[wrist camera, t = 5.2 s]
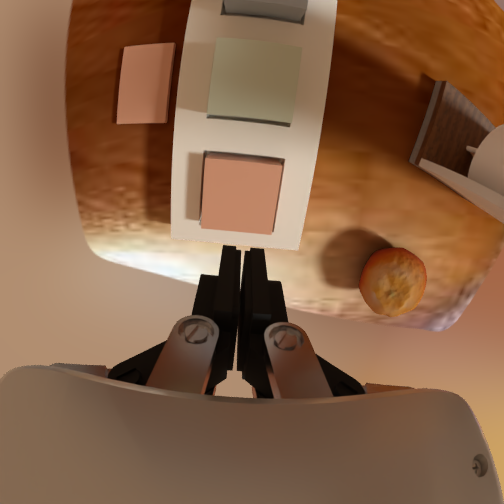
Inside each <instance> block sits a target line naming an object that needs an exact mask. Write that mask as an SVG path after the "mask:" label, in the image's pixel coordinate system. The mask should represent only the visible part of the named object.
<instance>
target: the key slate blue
mask: <svg viewBox="0 0 504 504" xmlns="http://www.w3.org/2000/svg"><path fill="white" fill-rule="evenodd" d="M224 5H225V10H226V13H239V14H251V15H261V16H269V17H276V18H282V19H288V20H294V21H300V19H301V18H302V16H303V15H304V13H305V12H306V10H307V5H308V0H224Z"/></svg>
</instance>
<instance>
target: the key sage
mask: <svg viewBox="0 0 504 504" xmlns="http://www.w3.org/2000/svg"><path fill="white" fill-rule="evenodd" d="M301 54H302V47H297V46H292V45H286V44H280V43H273V42H266V41H258V40H248V39H236V38H219V37H217V39H216V46H215V52H214V59H213V67H212V74H211V82H210V90H209V99H208V108H207V114H212V115H227V116H238V117H248V118H257V119H265V120H273V121H280V122H286V123H292V120H293V113H294V106H295V99H296V92H297V84H298V77H299V70H300V62H301Z"/></svg>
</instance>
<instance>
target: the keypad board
mask: <svg viewBox="0 0 504 504" xmlns="http://www.w3.org/2000/svg"><path fill="white" fill-rule="evenodd" d="M336 9H337V0H308V5H307V10H306V12H305V13H304V15H303V16H302V18H301V19H300V21H294V20H288V19H282V18H276V17H269V16H261V15H251V14H239V13H226V10H225V5H224V0H192V1H191V6H190V11H189V16H188V22H187V27H186V33H185V39H184V45H183V52H182V59H181V66H180V74H179V82H178V91H177V101H176V112H175V124H174V138H173V155H172V180H171V239H179V240H190V241H201V242H212V243H223V244H234V245H245V246H256V247H266V248H277V249H287V250H298V248H299V244H300V239H301V235H302V230H303V225H304V220H305V215H306V210H307V205H308V200H309V195H310V190H311V185H312V180H313V174H314V169H315V163H316V157H317V152H318V146H319V140H320V134H321V128H322V122H323V115H324V109H325V102H326V95H327V88H328V81H329V73H330V65H331V57H332V49H333V40H334V30H335V20H336ZM217 37H219V38H236V39H248V40H258V41H266V42H273V43H280V44H286V45H292V46H297V47H302V54H301V62H300V70H299V77H298V84H297V92H296V99H295V106H294V113H293V120H292V123H286V122H280V121H273V120H265V119H257V118H248V117H238V116H227V115H212V114H207V108H208V99H209V90H210V82H211V74H212V67H213V59H214V52H215V46H216V39H217ZM210 152H211V153H224V154H235V155H245V156H255V157H263V158H271V159H278V160H279V162H280V163H281V165H282V172H281V179H280V185H279V192H278V198H277V204H276V210H275V217H274V223H273V229H272V235H266V234H256V233H245V232H235V231H224V230H213V229H201V217H202V199H203V183H204V168H205V158H206V157H207V156H208V154H209V153H210Z"/></svg>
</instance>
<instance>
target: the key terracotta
mask: <svg viewBox="0 0 504 504" xmlns="http://www.w3.org/2000/svg"><path fill="white" fill-rule="evenodd" d="M281 172H282V165H281V163H280V162H279V160H278V159H271V158H263V157H255V156H245V155H235V154H224V153H211V152H210V153H209V154H208V156H207V157H206V158H205V168H204V183H203V199H202V217H201V229H213V230H224V231H235V232H245V233H256V234H266V235H272V229H273V223H274V217H275V210H276V204H277V198H278V192H279V185H280V179H281Z"/></svg>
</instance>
